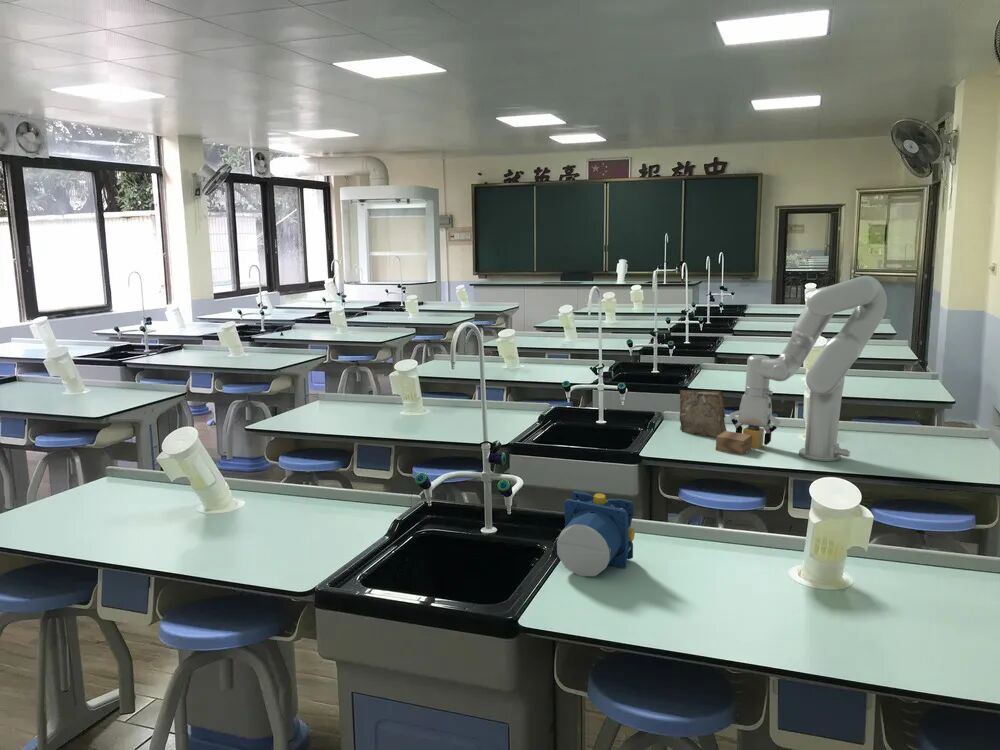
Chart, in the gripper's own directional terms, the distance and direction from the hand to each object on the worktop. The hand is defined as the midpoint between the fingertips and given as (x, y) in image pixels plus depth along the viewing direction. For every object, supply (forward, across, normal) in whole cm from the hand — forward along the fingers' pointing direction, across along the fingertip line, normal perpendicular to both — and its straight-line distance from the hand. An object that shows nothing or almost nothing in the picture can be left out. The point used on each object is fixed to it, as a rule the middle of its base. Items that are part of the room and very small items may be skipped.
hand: (752, 441), depth 270 cm
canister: (+2, 0, 0) cm, 2 cm away
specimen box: (+2, +3, +9) cm, 10 cm away
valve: (+2, -11, +118) cm, 119 cm away
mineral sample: (+2, +20, -2) cm, 20 cm away
